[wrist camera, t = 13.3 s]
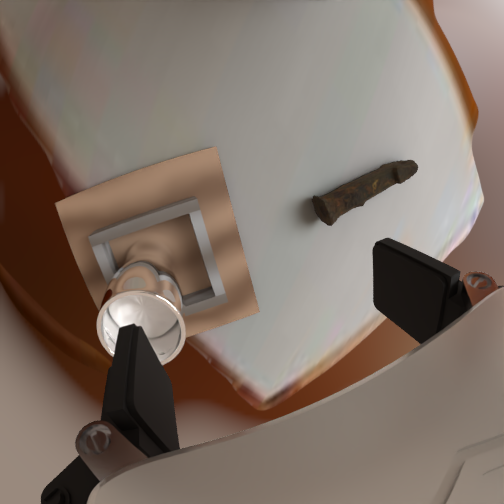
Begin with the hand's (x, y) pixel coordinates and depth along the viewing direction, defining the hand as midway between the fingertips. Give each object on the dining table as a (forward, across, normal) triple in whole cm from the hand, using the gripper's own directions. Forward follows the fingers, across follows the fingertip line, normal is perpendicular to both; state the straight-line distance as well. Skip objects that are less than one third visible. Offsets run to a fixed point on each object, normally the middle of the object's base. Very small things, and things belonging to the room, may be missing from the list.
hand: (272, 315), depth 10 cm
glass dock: (+25, +6, +5) cm, 26 cm away
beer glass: (+24, +8, +5) cm, 25 cm away
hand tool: (+26, -23, +2) cm, 35 cm away
